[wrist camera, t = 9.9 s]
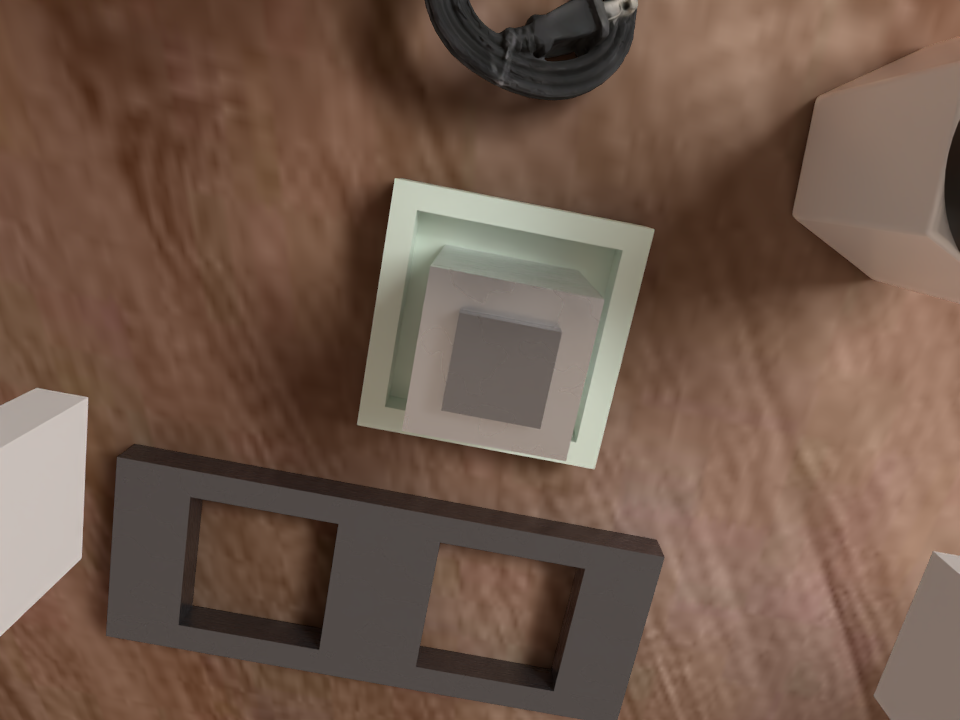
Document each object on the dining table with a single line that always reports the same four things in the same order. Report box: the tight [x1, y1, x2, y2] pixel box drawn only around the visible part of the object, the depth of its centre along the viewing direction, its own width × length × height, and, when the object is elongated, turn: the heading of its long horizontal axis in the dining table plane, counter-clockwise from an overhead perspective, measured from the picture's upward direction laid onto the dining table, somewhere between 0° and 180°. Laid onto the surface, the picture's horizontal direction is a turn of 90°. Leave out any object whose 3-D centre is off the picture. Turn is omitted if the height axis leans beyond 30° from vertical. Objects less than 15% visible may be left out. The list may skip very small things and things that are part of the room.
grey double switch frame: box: [106, 444, 664, 720], centre depth 32 cm, size 24×9×2 cm, turn 79°
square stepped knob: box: [402, 245, 605, 461], centre depth 25 cm, size 6×6×8 cm
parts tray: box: [357, 178, 655, 469], centre depth 29 cm, size 10×10×2 cm
